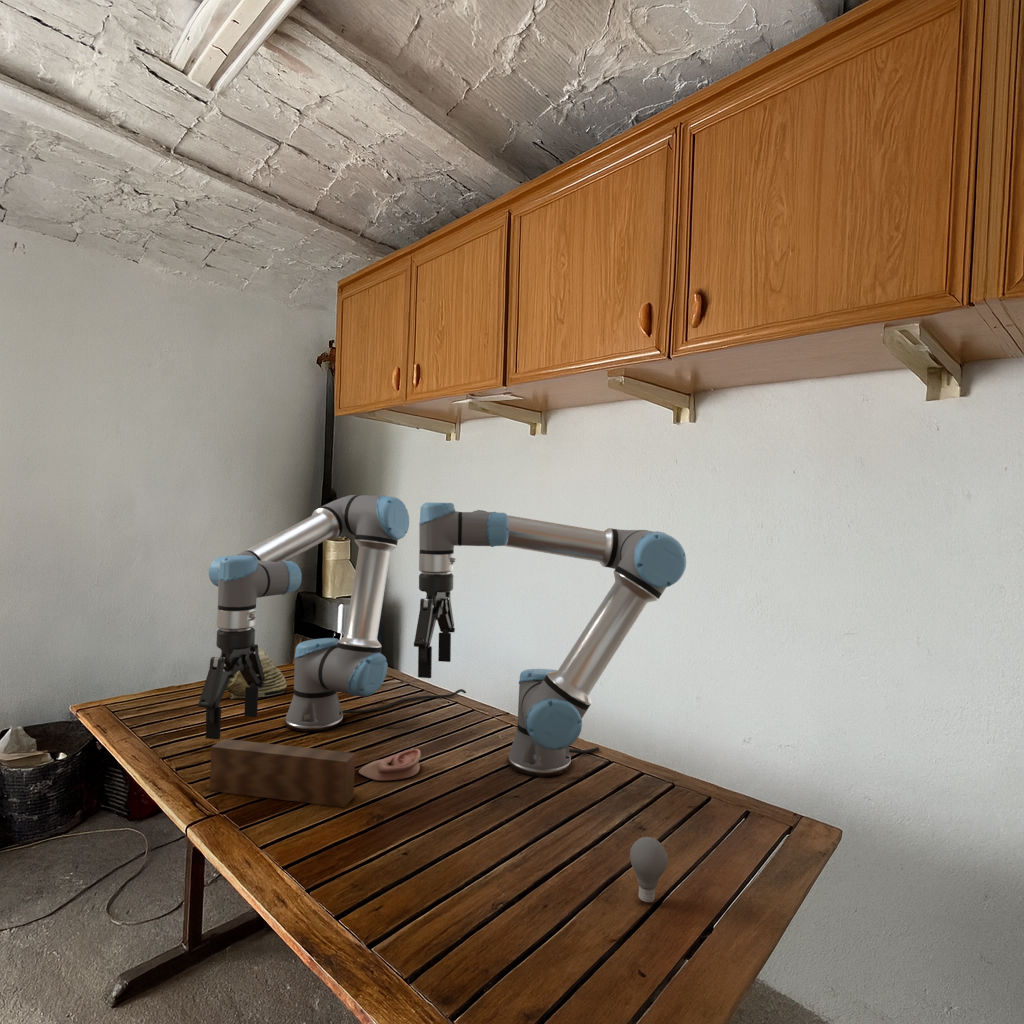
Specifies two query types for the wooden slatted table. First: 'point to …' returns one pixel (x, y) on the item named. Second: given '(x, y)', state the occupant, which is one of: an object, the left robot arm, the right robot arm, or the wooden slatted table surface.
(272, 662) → the fossil
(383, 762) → the anatomical model
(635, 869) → the light bulb
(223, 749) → the bar
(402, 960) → the wooden slatted table surface
